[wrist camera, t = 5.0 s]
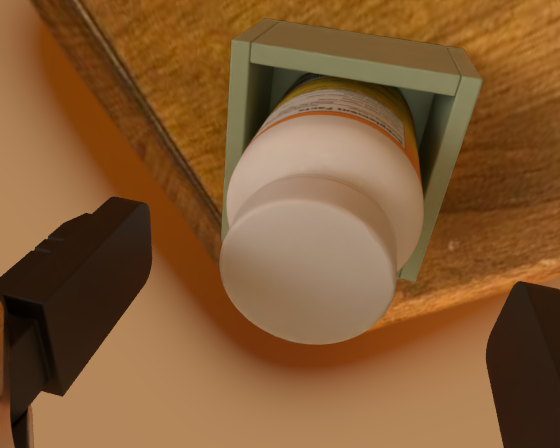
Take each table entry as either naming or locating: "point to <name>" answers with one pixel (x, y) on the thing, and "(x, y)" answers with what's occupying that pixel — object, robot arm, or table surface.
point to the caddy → (362, 67)
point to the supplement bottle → (324, 211)
